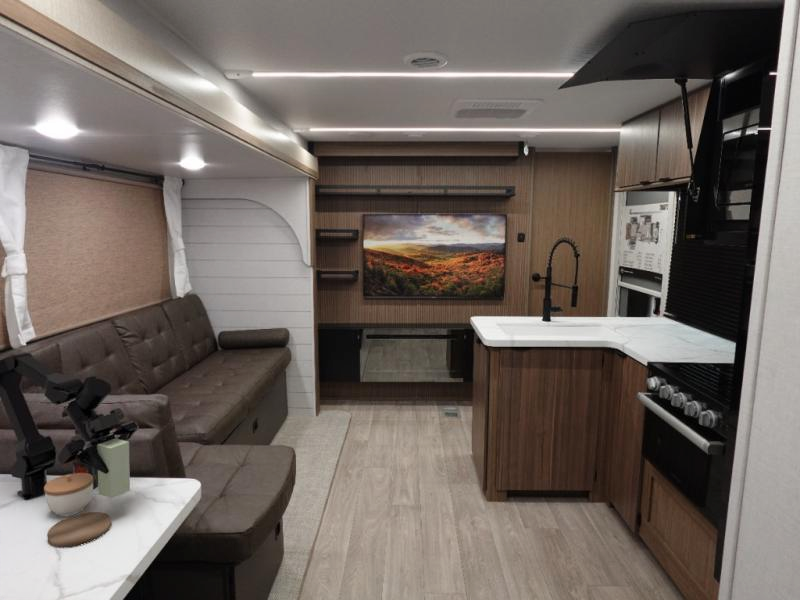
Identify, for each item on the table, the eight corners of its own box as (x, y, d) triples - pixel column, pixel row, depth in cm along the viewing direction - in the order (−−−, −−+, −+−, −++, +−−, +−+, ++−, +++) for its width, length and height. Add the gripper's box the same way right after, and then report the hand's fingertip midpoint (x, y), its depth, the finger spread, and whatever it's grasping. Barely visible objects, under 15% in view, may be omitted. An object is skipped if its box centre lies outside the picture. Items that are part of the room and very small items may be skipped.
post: (98, 494, 127) (97, 444, 126) (116, 486, 132) (115, 438, 130) (111, 498, 125) (110, 448, 124) (129, 490, 129) (128, 441, 128)
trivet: (38, 534, 120) (38, 529, 120) (96, 511, 131) (96, 506, 130) (61, 554, 113) (61, 548, 112) (121, 528, 123) (120, 522, 123)
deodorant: (103, 484, 145) (100, 435, 144) (83, 494, 140) (79, 442, 138) (90, 480, 148) (87, 431, 146) (69, 489, 142) (66, 438, 141)
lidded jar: (71, 523, 125) (68, 487, 124) (35, 518, 127) (32, 483, 126) (104, 502, 136) (102, 468, 135) (70, 497, 138) (68, 465, 137)
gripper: (62, 412, 119) (96, 465, 116) (132, 391, 136) (163, 437, 133) (43, 438, 123) (75, 491, 120) (113, 415, 140) (143, 460, 137)
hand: (117, 468), depth 127 cm, fingers closed on post, 5 cm apart
